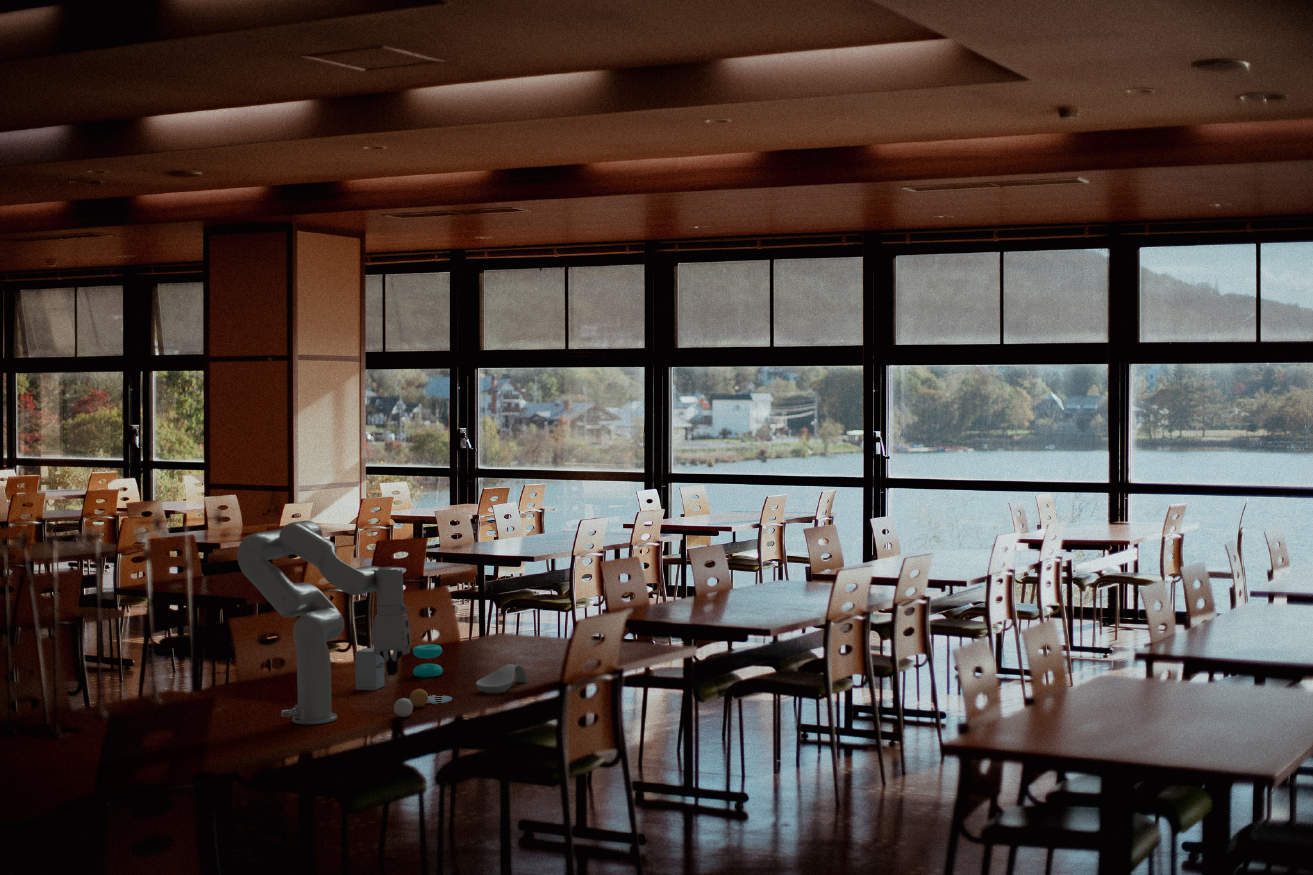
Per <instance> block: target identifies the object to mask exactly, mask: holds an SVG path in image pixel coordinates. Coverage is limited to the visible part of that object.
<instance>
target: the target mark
mask: <svg viewBox="0 0 1313 875" xmlns="http://www.w3.org/2000/svg"><path fill="white" fill-rule="evenodd" d="M429 695H430V696H428V701H427V703H432V704H434V705H439V704H438V703H442V704H445V703H449V702H452V700H453V697H452V696H449V695H443V696H436V695H437V694H429ZM431 695H432V696H431ZM435 697H442V698H435ZM408 699H409V700H410V698H408ZM435 699H442V700H435ZM429 701H430V702H429ZM436 701H441V702H436Z"/></svg>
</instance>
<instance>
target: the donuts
mask: <svg viewBox="0 0 1313 875" xmlns="http://www.w3.org/2000/svg"><path fill="white" fill-rule="evenodd" d="M412 653H413V655H414V656H415V657H416V658H419V659H430V658H431V659H432V658H436V657H438V656H440V655H442V653H443V648H442V647H441V645H439V644H423V645H422V644H421V645H420V644H419V645H418V646H415V647H413V649H412ZM443 671H444V669H443V667H442V666H440V665H439V664H436V663H423V664H419V665H416V666H415V667H414V669H413V670H412V673H413V675H414V676H416V677H417V676H418V678H435V676H436V677H440V675H442V674H443Z"/></svg>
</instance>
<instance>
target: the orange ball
mask: <svg viewBox="0 0 1313 875" xmlns="http://www.w3.org/2000/svg"><path fill="white" fill-rule="evenodd" d="M409 695H410V696H409V699H410V701H411V702H412V704H413V707H416V708H422V707H424V706H426V705H425V704H426V703H427V701H428V695H429V694H428V692H427V691H426V690H424V689H423V688H417V689H416V688H415V690H413V691H411V693H410V694H409ZM421 706H422V707H421Z"/></svg>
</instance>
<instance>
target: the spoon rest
mask: <svg viewBox="0 0 1313 875" xmlns="http://www.w3.org/2000/svg"><path fill="white" fill-rule="evenodd" d="M514 681H515V682H516V683H522V684H523V683H525V684H526V683H528V682H529V677H528V674H527V672H526V670H525V668H524V667H523V666H522V665H520V664H512V663H508V664H506V665H504V666H502V667H500V668H499V669H497V670H495V671H494V672H492V673H490V674H488V675H486V676H484V677H482V678H480V679H478V680H477V681H476V682H475V685H476V688H478V689H479V690H480V691H481V692H483V693H484V694H489V695H498V694H503V693H505V692H506V691H508V689H510V688H511V687H512V684H513V683H514Z"/></svg>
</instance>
